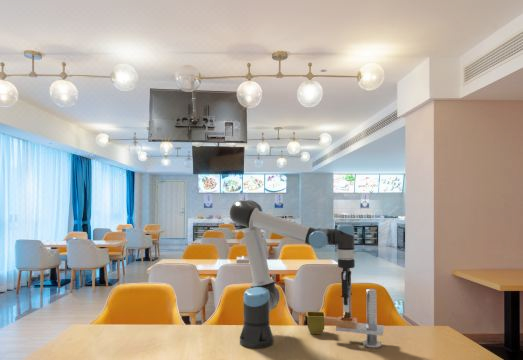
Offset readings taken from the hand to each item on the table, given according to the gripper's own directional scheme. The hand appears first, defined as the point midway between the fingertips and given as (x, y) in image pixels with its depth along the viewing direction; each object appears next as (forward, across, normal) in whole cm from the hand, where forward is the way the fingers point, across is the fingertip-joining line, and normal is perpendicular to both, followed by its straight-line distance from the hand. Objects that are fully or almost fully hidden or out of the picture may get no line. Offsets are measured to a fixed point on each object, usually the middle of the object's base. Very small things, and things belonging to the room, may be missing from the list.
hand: (346, 310), depth 189 cm
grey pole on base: (+14, 0, -3) cm, 14 cm away
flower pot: (+14, +8, +16) cm, 23 cm away
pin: (+3, 0, 0) cm, 3 cm away
